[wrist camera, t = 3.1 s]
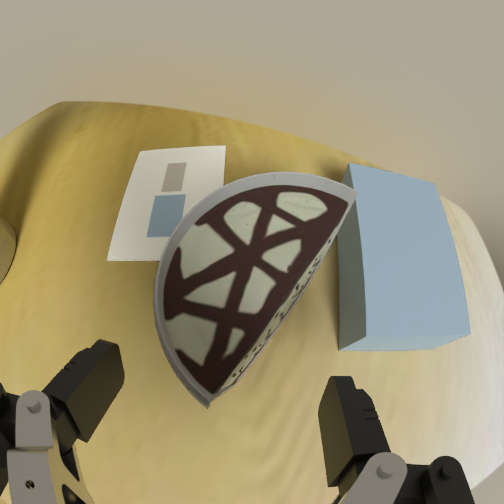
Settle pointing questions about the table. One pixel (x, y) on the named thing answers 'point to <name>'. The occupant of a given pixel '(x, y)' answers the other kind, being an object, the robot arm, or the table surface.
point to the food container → (241, 272)
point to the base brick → (397, 266)
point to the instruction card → (163, 198)
